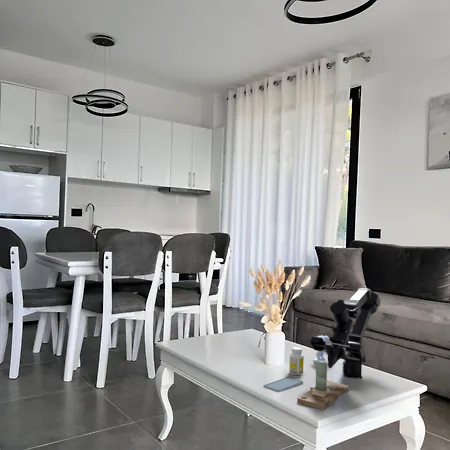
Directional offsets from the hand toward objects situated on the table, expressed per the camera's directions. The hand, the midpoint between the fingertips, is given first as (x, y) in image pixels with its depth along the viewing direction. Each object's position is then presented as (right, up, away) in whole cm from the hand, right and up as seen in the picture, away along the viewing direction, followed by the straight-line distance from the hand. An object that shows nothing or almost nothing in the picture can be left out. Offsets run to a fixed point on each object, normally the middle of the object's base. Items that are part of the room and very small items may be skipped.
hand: (329, 367), depth 160 cm
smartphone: (-15, -9, +6) cm, 19 cm away
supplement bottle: (-8, -9, +21) cm, 24 cm away
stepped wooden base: (-2, -9, -3) cm, 9 cm away
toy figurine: (+5, -10, +37) cm, 39 cm away
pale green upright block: (-5, -7, -5) cm, 10 cm away
